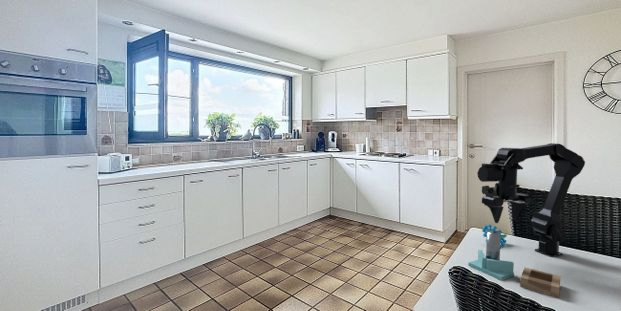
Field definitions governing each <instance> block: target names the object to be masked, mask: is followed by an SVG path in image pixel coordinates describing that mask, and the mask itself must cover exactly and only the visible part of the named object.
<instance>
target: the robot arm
mask: <svg viewBox="0 0 621 311" xmlns="http://www.w3.org/2000/svg"><path fill="white" fill-rule="evenodd" d="M547 156H548V157H549V159H550V160H551V161H552V162H553V164H554V165H553V170H554V173H555V174H554V176H555V177H554V179H553V182H552V184H551V187H550V190H549V192H548V195H547V198H546V200H545V203H544V205H543V208H542V209H541V210H540V211H534V212H533V216H532V219H531V220H530V222H531V228H532V230H533V232H534V234H535V235H537V236H539V240H538V248H535V249H534V251H535V252H536V253H537V252H538V253H541V254H543V255H546V256H548V257H557V256H563V255H564V253H563V252H560V243H562V242H565V241H566V240H567V236H568V235H567V234H566V233H565V232H564V231H563V230H562V229H561V226H562V220H561V218H560V214H561V213H560V212H561V211H562V210H561V209H562V207H563V204H564V202H565V200H566V199H565V198H566V196H567V194H568V192H569V189H570V186H571V184H572V181H573V179H574V178H576V177H577V176H579V174H581V172H582V170H583V168H585V165H586V161H585V159H584V158H583V156H581V155H579V154H578V153H576V152H575V151H572V150H571V149H569V148H567V147H565V145H563V144H561V143H550V142H549V143H547V144H541V145H535V146H526V147H521V148H519V147H500V148H499V149H498V151H497V152H496V154H495V156H493V158H492V160H491V161H490V162H489V163H481V167H479V168H478V171H477V173H476V174H477V178H478V180H479V181H480V182H482V183H483V182H485V183H486V182H488V183H489V182H490V183H491V182H493V183H494V182H496V183H494V186H492V187H491V186H489V185H483V186H481V193H482V195H483V196H482V198H481V204H482V205H483V204H484V206H486V207H487V208H489V210H490V212H491V214H492V215H491V216H492V218H493V221H494V224H498V223H499V222H500V219H501V216H502V213H503V211H504V206H503V205H504V203H508V202H509V204H510V205H511V207H512V214H511V216H512V220H513V221H514V222H516V221H517V220H518V219H519V217H520V216H521V215H522V213H523V212H524V210H525V209H526V208H527V207H528V206H529V205H530V204H532V201H533V200H532V199H533V197H532V196H531V195H530V194H526V193H521V192H520V193H519V192H517V188H520V184H517V183H518V170H523V169H524V167H523V166H522V165H521V164H520V163H523V162H525V160H528V159H533V158H539V157H547Z"/></svg>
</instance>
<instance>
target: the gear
mask: <svg viewBox="0 0 621 311" xmlns="http://www.w3.org/2000/svg"><path fill="white" fill-rule="evenodd" d="M497 229H498V228H497V226H495V225H494V226H492V224H488V225H484V226H483V229H482V230H481V232H483V234H482V236H483V237H484V238H486V239H485V242H487V231H497V232H500V233H501V240H500V248H502V247H505V246H506V243H507V240H506V239H505V238H506V237H508V235H507V233H505V234H502V230H501V229H498V230H497Z"/></svg>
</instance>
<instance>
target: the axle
mask: <svg viewBox="0 0 621 311" xmlns="http://www.w3.org/2000/svg"><path fill="white" fill-rule="evenodd" d="M497 231H498V230H496V231H487V237H486V239H487V242H486V241H485V242H486V243H485V244H486V245H485V249H486V250H485V251H486V252H485V257H486V259H494V260H500V258H501V247H500V245H501V243H500V240H501V235H502V233H500V232H497Z"/></svg>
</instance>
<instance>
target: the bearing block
mask: <svg viewBox="0 0 621 311" xmlns="http://www.w3.org/2000/svg"><path fill="white" fill-rule="evenodd" d="M561 278H562V277H561V275H557V274H554V273H553V274H552V273H549V272H546V271H540V270H537V269H533V268H529V267H525V266H524V268H523V271H522V273H521V276H520V282H519V288H522V289H526V290H530V291H533V292H535V293H536V292H538V293H539V294H540V293H541V294H544V295H548V296H550V297H554V298H558V299H559V297H560V289H561V280H562V279H561Z"/></svg>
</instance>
